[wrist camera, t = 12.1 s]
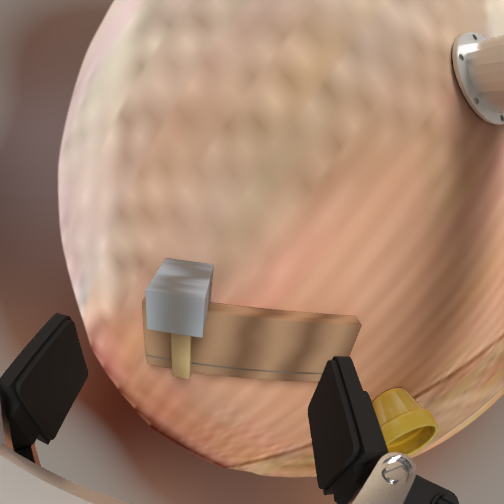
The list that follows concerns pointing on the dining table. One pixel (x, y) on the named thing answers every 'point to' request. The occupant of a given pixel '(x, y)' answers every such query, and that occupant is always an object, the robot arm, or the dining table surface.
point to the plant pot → (403, 421)
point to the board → (260, 343)
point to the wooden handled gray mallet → (180, 307)
